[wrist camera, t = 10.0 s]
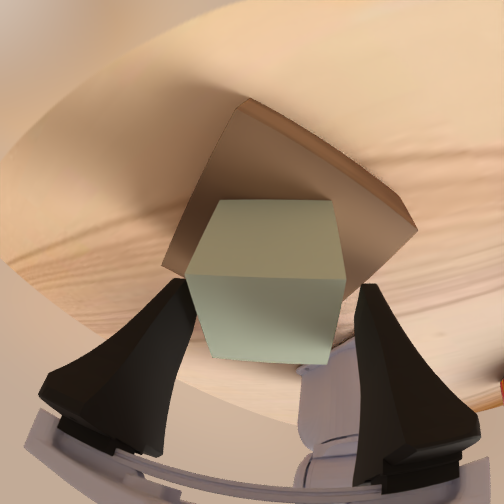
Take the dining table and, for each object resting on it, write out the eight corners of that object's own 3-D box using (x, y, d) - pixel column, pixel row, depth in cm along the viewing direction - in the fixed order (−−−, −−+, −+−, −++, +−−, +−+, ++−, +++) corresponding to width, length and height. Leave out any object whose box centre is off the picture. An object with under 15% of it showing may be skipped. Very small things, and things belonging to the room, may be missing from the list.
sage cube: (323, 283, 15) (327, 364, 11) (232, 280, 16) (212, 357, 12) (331, 200, 12) (346, 279, 8) (219, 199, 13) (184, 273, 9)
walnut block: (304, 290, 21) (302, 333, 18) (183, 228, 19) (161, 265, 16) (397, 193, 15) (418, 230, 12) (252, 96, 13) (235, 108, 10)
